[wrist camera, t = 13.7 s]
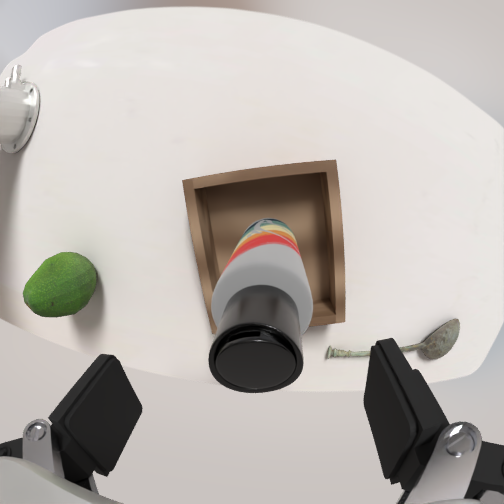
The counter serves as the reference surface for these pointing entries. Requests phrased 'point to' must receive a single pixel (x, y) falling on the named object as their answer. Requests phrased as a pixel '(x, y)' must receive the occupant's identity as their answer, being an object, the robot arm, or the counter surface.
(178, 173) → the counter surface
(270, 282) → the lotion bottle
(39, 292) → the avocado
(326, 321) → the walnut tray
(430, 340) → the soupspoon
